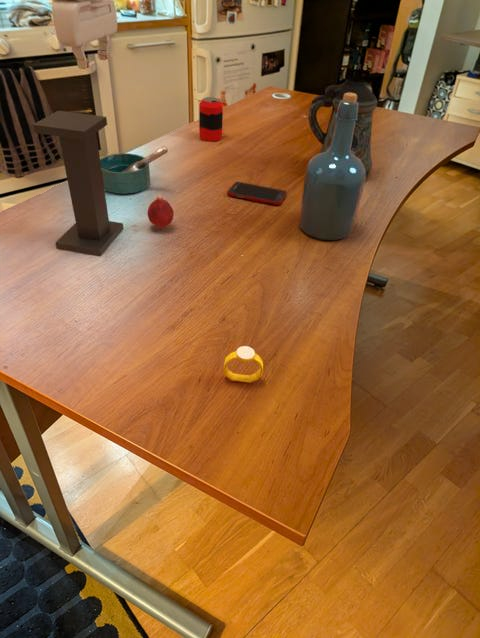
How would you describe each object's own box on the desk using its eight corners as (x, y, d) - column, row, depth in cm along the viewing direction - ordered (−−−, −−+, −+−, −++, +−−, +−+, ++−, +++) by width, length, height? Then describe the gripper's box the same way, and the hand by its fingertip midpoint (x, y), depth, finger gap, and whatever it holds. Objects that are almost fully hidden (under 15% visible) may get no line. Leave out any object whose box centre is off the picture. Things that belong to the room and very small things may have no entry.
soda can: (205, 143, 150) (205, 104, 142) (195, 135, 155) (195, 97, 147) (226, 140, 153) (227, 101, 145) (215, 133, 158) (216, 95, 150)
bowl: (91, 191, 119) (87, 168, 115) (112, 172, 129) (109, 150, 125) (139, 198, 117) (137, 176, 113) (157, 178, 127) (156, 157, 123)
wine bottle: (349, 247, 104) (382, 107, 85) (292, 236, 107) (312, 97, 88) (355, 220, 115) (386, 90, 95) (303, 210, 117) (323, 81, 98)
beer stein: (380, 181, 134) (404, 88, 118) (321, 187, 128) (338, 90, 112) (351, 159, 146) (369, 72, 130) (295, 165, 140) (308, 74, 124)
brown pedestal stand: (56, 248, 98) (27, 127, 81) (83, 222, 107) (62, 108, 90) (100, 256, 96) (80, 134, 80) (123, 228, 105) (109, 114, 89)
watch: (222, 384, 71) (223, 357, 67) (223, 371, 73) (225, 344, 69) (261, 387, 71) (264, 360, 67) (261, 374, 73) (264, 347, 69)
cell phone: (279, 206, 118) (280, 203, 117) (226, 195, 121) (226, 192, 120) (287, 194, 123) (287, 191, 123) (235, 184, 127) (235, 181, 126)
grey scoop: (159, 150, 111) (165, 159, 112) (169, 141, 116) (175, 149, 117) (112, 179, 119) (118, 187, 120) (123, 169, 124) (129, 177, 125)
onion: (178, 226, 108) (177, 194, 103) (165, 236, 104) (163, 204, 98) (157, 219, 109) (155, 188, 104) (143, 230, 105) (140, 197, 100)
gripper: (93, -21, 98) (101, 53, 107) (41, -14, 83) (56, 72, 91) (120, -18, 97) (127, 56, 106) (74, -10, 82) (86, 75, 91)
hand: (94, 63), depth 99 cm, fingers open, 8 cm apart
